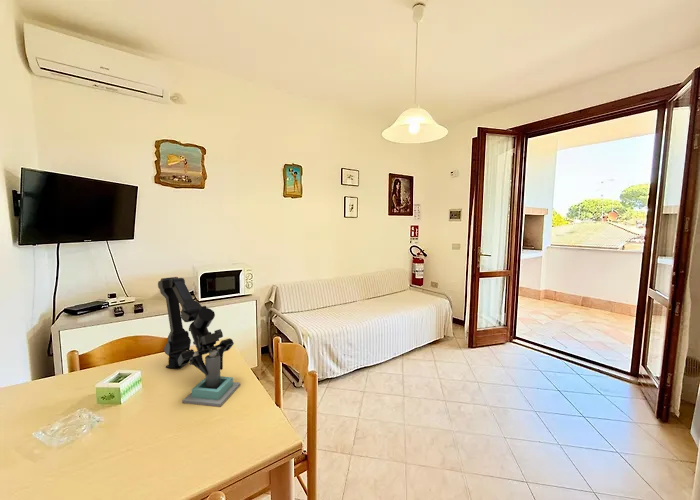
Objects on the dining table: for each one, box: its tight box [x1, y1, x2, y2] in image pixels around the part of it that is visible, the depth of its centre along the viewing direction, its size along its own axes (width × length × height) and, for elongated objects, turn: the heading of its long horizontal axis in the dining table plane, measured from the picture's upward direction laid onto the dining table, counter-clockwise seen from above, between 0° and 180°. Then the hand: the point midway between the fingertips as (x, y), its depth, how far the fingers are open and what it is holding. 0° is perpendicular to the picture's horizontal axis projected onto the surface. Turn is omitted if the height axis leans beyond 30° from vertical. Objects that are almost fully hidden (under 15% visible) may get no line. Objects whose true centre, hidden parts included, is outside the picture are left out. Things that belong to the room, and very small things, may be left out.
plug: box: [204, 350, 221, 389], centre depth 107 cm, size 5×5×14 cm
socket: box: [182, 375, 241, 408], centre depth 108 cm, size 14×14×4 cm
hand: (214, 372), depth 106 cm, fingers closed on plug, 5 cm apart
